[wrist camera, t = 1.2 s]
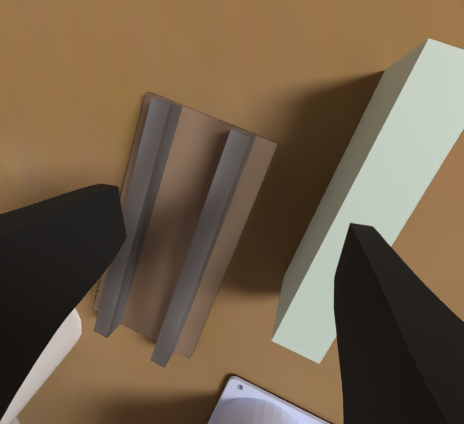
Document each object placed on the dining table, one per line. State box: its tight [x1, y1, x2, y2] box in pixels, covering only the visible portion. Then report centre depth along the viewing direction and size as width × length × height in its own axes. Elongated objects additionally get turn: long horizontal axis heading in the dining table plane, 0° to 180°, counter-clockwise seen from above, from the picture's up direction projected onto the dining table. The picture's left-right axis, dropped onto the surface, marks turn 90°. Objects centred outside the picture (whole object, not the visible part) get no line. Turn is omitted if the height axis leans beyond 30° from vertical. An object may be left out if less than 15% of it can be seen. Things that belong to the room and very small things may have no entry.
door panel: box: [272, 39, 464, 363], centre depth 16 cm, size 2×14×7 cm, turn 160°
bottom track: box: [94, 92, 279, 368], centre depth 22 cm, size 9×18×3 cm, turn 160°
